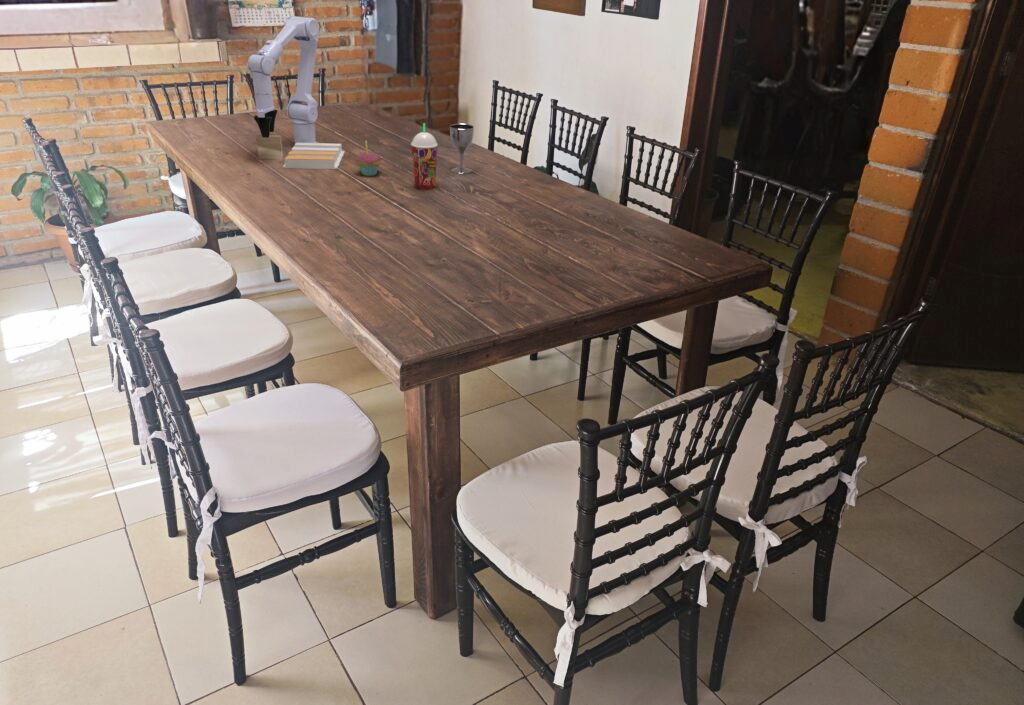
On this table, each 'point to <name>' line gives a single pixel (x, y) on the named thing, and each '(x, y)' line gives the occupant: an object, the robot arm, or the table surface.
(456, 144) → the wine glass
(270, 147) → the block
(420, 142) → the smoothie
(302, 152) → the rack
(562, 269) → the table surface
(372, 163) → the cupcake
